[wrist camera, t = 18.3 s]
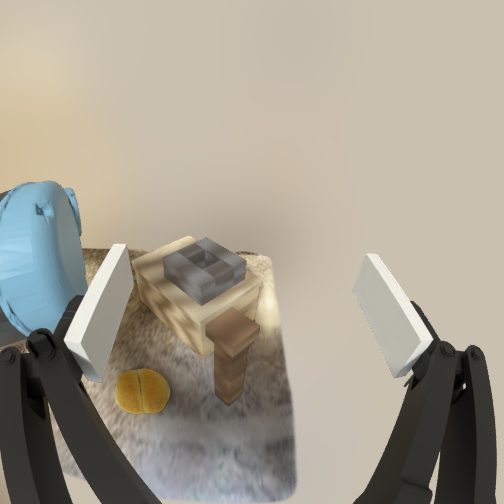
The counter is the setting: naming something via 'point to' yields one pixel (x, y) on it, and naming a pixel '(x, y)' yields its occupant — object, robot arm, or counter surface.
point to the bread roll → (141, 391)
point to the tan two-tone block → (195, 287)
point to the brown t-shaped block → (230, 351)
